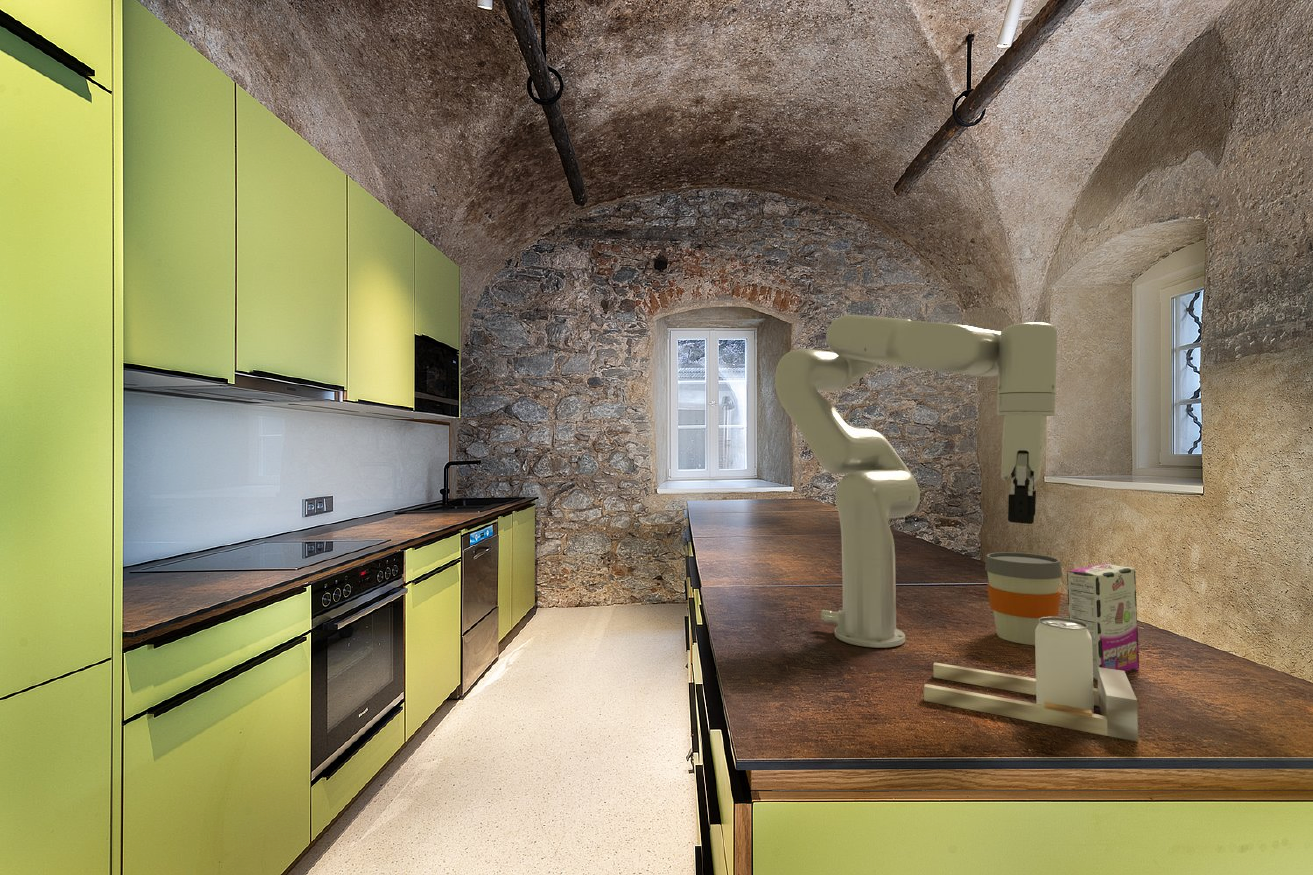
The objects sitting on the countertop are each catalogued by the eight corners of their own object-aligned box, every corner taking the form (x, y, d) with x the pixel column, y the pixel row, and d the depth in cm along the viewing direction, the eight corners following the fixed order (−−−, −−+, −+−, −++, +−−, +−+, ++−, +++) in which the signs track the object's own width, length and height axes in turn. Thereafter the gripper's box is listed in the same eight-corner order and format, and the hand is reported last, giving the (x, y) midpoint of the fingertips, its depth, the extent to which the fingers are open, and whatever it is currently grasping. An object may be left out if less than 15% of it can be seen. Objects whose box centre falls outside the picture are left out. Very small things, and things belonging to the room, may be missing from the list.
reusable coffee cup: (984, 641, 113) (982, 559, 113) (988, 624, 124) (986, 550, 124) (1065, 652, 106) (1063, 566, 107) (1062, 633, 117) (1060, 555, 117)
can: (1103, 723, 79) (1101, 630, 79) (1048, 719, 80) (1046, 627, 80) (1079, 703, 85) (1077, 617, 86) (1028, 699, 87) (1027, 614, 87)
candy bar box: (1105, 660, 102) (1103, 562, 103) (1140, 670, 98) (1138, 567, 98) (1067, 672, 97) (1065, 569, 97) (1102, 683, 93) (1099, 574, 93)
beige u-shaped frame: (924, 700, 86) (923, 665, 87) (934, 675, 96) (934, 643, 96) (1138, 741, 74) (1137, 700, 74) (1125, 707, 84) (1124, 670, 84)
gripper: (1001, 408, 102) (997, 510, 102) (992, 404, 87) (989, 523, 87) (1054, 408, 98) (1051, 514, 98) (1055, 403, 83) (1051, 529, 83)
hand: (1022, 518), depth 93 cm, fingers open, 9 cm apart
